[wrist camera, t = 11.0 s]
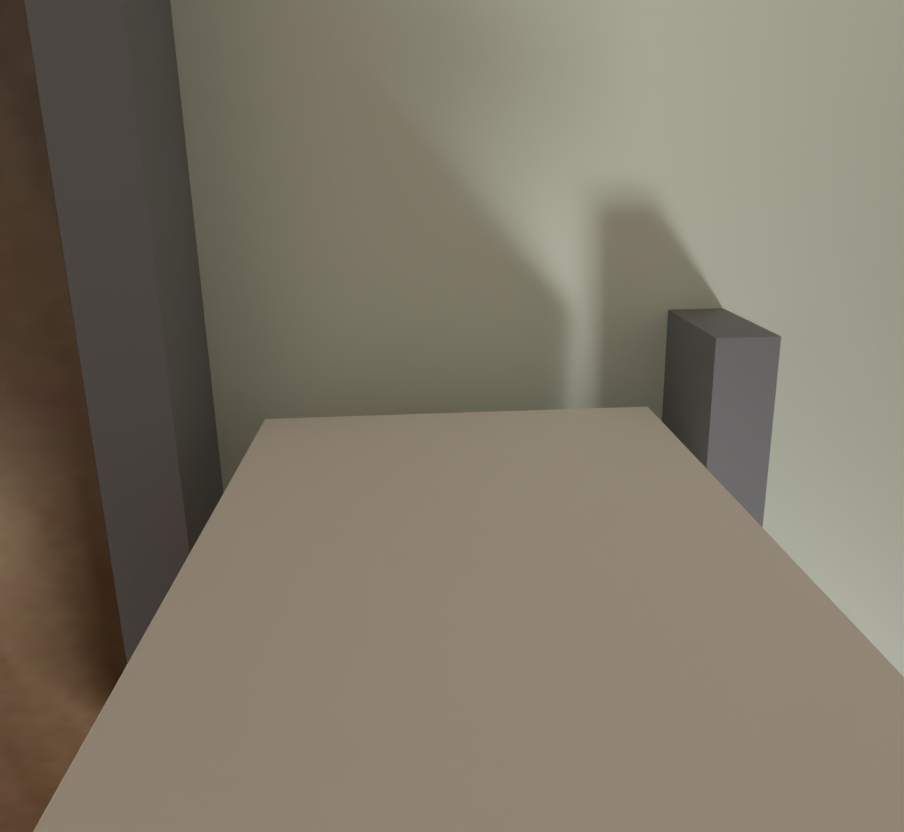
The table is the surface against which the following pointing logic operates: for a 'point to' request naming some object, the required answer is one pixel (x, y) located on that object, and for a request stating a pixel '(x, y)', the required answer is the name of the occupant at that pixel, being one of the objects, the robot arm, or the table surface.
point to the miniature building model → (489, 244)
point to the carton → (490, 648)
